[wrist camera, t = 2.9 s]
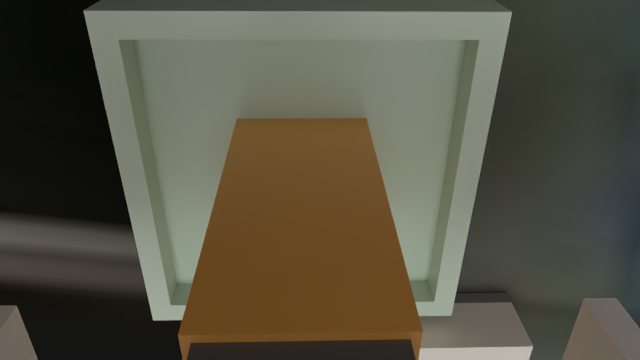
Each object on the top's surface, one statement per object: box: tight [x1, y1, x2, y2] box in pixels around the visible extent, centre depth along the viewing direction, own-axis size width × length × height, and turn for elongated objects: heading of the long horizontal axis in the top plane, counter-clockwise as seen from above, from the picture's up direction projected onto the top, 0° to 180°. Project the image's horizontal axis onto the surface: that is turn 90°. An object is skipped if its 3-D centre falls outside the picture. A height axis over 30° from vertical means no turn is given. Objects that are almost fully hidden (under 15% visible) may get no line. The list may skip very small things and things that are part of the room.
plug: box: [178, 118, 423, 360], centre depth 14 cm, size 4×4×10 cm
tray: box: [84, 0, 512, 320], centre depth 18 cm, size 12×12×2 cm
